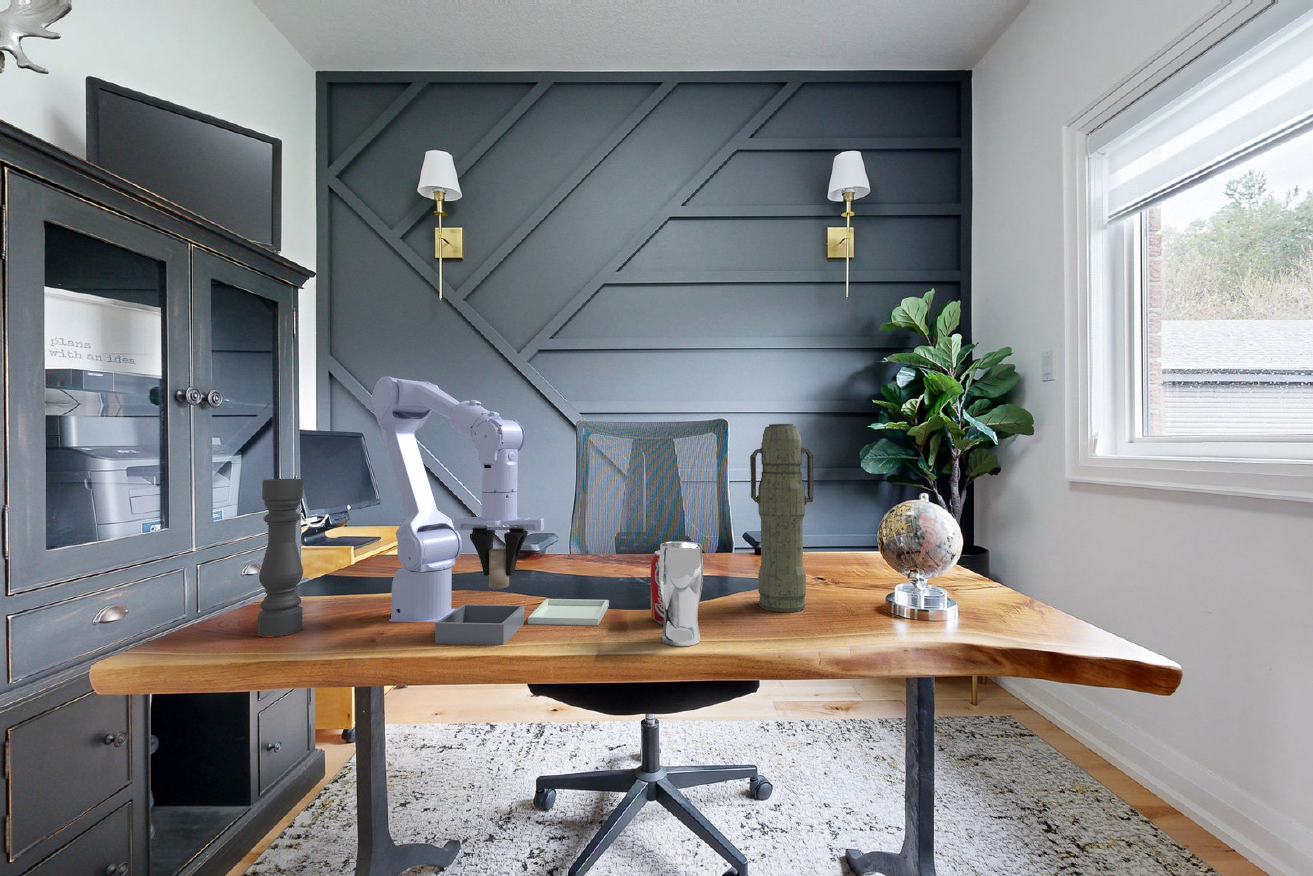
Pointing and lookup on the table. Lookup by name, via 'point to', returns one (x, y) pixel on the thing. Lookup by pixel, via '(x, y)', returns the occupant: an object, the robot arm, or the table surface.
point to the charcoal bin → (480, 624)
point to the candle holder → (281, 559)
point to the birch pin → (497, 568)
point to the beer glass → (680, 591)
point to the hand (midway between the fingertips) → (499, 574)
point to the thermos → (781, 517)
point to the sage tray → (569, 612)
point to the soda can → (656, 591)
